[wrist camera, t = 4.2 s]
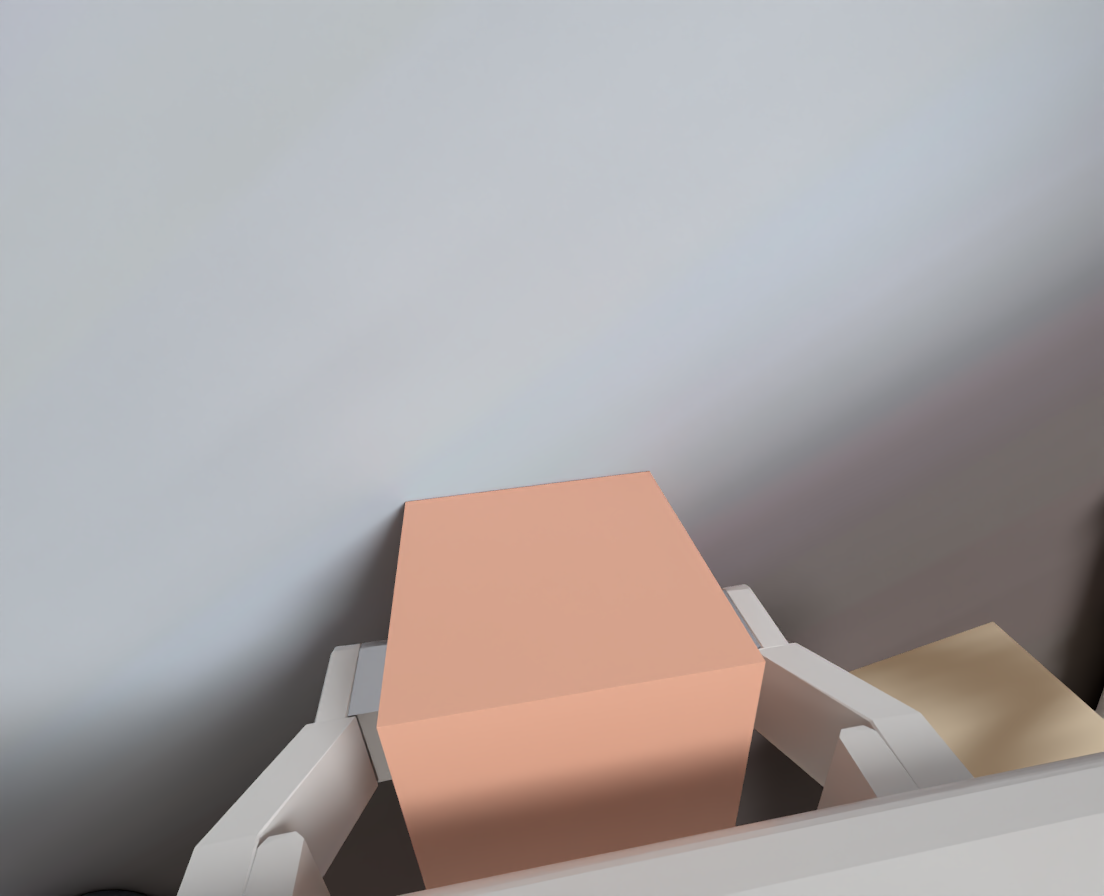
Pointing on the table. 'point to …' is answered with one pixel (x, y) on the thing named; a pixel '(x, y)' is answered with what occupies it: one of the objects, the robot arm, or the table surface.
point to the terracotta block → (560, 679)
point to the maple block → (990, 701)
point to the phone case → (114, 893)
